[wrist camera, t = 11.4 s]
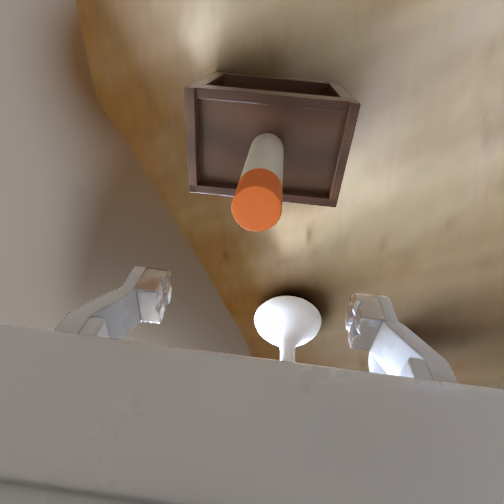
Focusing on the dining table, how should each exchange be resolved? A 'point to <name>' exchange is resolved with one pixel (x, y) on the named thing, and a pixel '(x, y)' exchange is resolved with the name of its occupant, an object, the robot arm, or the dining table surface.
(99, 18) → the dining table surface
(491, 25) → the dining table surface
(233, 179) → the small wooden shelf
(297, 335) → the flower in vase
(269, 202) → the marker
